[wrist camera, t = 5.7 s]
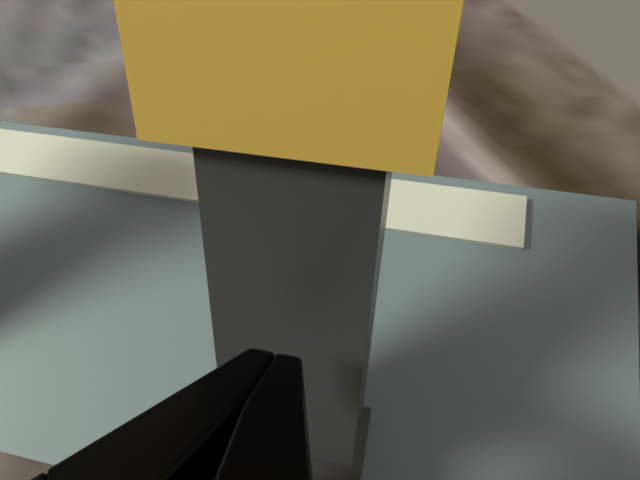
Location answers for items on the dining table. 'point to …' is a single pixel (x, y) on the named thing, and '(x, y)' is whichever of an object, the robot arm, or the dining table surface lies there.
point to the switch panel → (388, 328)
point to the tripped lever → (296, 169)
